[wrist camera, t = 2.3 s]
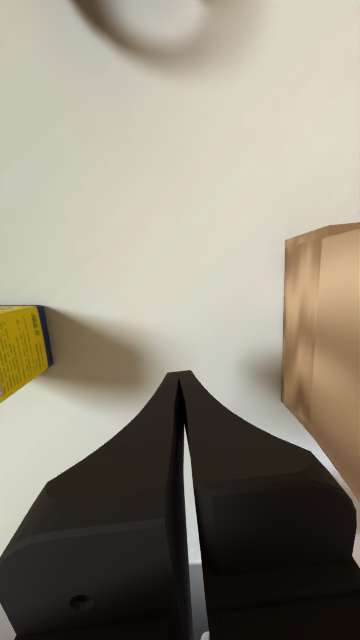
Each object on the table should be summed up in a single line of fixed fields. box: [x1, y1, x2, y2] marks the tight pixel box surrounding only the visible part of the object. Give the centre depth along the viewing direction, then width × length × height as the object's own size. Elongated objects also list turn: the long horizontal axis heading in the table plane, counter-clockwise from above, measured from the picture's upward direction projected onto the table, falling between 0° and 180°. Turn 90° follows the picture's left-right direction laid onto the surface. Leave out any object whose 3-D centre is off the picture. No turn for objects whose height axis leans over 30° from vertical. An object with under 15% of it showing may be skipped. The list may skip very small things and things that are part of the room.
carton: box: [281, 222, 360, 437], centre depth 16 cm, size 16×10×4 cm, turn 6°
